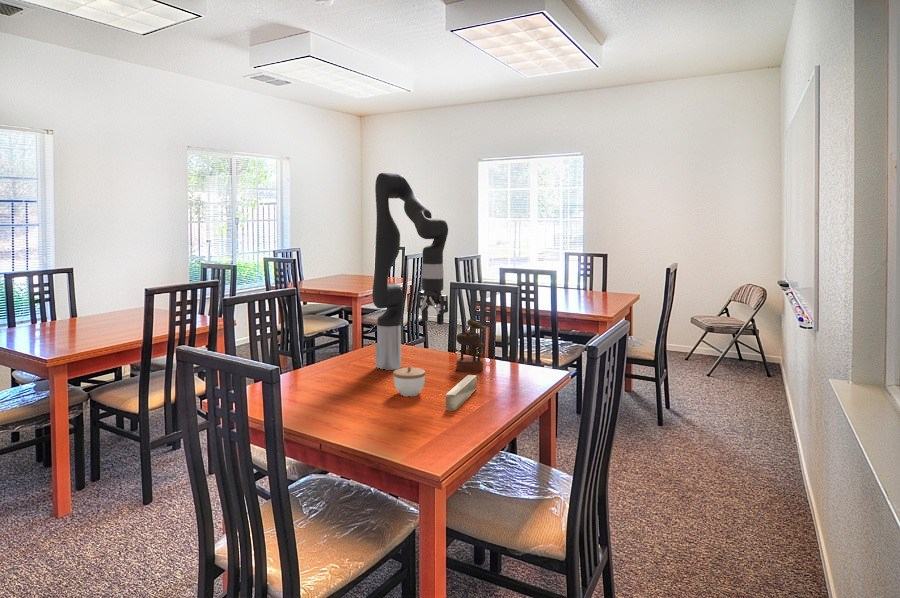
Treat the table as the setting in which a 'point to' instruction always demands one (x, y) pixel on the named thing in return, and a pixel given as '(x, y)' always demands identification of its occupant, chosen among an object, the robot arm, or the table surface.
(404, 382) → the lidded jar
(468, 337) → the music box
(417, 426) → the table surface
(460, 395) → the grey long bar
